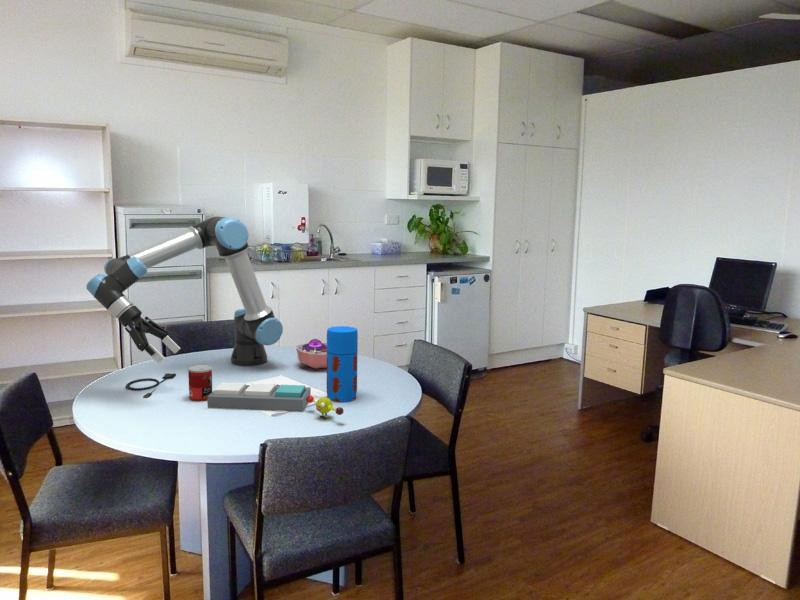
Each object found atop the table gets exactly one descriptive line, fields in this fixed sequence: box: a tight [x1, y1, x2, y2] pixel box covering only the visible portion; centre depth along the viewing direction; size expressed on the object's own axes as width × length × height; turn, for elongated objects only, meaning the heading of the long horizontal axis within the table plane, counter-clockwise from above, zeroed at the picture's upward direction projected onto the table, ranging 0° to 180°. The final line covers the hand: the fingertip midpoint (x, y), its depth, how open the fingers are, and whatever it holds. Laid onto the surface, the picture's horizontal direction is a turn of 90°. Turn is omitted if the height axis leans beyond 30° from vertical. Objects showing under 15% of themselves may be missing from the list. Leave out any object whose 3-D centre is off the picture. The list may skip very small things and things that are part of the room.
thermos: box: [326, 325, 359, 403], centre depth 224 cm, size 11×11×25 cm
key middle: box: [245, 383, 277, 396], centre depth 218 cm, size 8×8×4 cm
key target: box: [275, 384, 306, 398], centre depth 218 cm, size 8×8×4 cm
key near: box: [213, 382, 247, 395], centre depth 219 cm, size 8×8×4 cm
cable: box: [125, 373, 177, 399], centre depth 235 cm, size 14×28×2 cm, turn 179°
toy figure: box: [306, 395, 344, 419], centre depth 205 cm, size 18×6×7 cm, turn 45°
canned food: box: [187, 364, 213, 402], centre depth 222 cm, size 8×8×11 cm
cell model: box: [295, 338, 327, 370], centre depth 265 cm, size 17×20×11 cm
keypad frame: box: [206, 384, 312, 412], centre depth 218 cm, size 14×32×4 cm, turn 87°
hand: (170, 355), depth 221 cm, fingers open, 13 cm apart
